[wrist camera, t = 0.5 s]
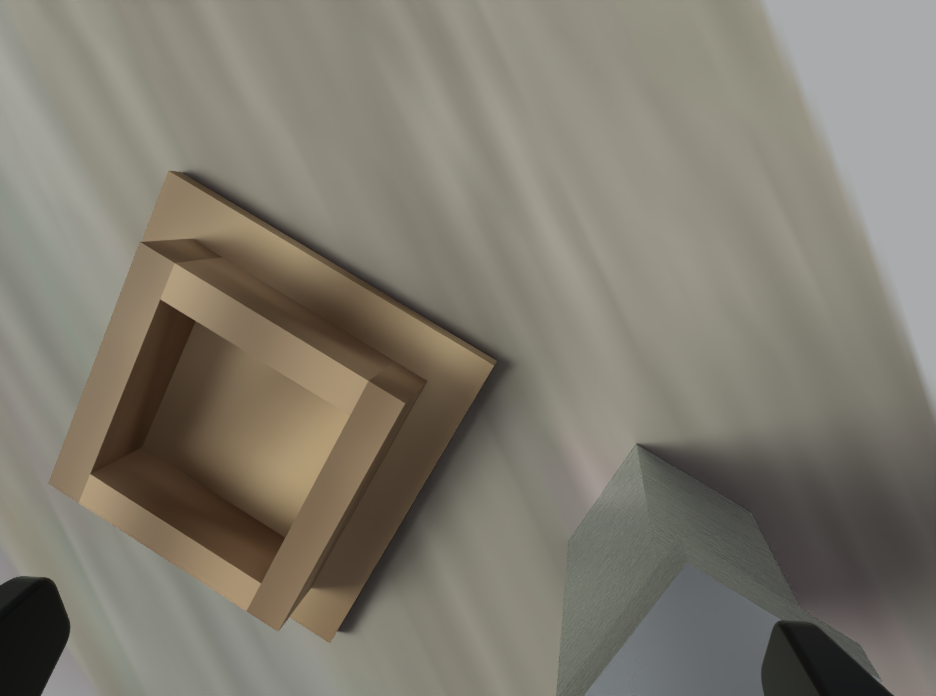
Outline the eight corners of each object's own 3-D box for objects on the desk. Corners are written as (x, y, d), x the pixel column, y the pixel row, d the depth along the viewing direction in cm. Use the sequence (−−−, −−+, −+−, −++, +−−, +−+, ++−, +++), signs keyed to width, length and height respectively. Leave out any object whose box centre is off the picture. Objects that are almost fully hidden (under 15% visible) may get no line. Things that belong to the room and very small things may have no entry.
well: (497, 361, 20) (480, 386, 17) (336, 632, 23) (299, 692, 20) (180, 172, 21) (112, 165, 18) (68, 460, 24) (-4, 494, 21)
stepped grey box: (766, 491, 19) (882, 680, 11) (662, 623, 21) (701, 868, 13) (650, 422, 19) (687, 562, 12) (556, 558, 21) (533, 760, 13)
